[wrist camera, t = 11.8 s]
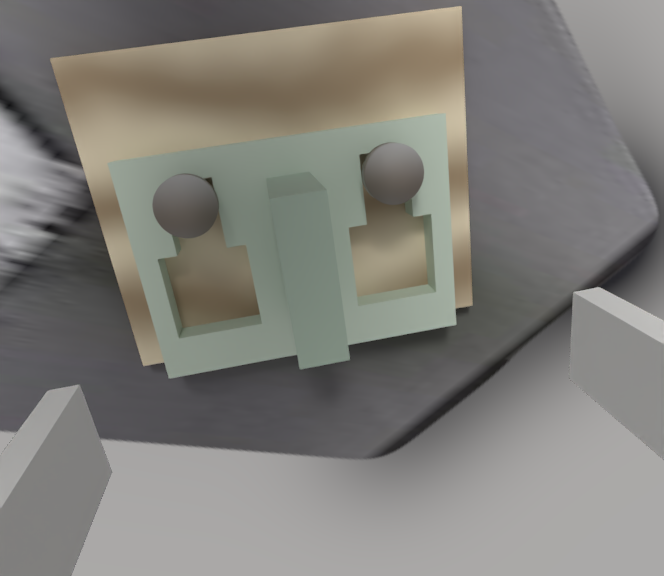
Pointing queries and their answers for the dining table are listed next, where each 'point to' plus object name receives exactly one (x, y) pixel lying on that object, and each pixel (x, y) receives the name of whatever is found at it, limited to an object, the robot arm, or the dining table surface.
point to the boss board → (267, 122)
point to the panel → (261, 243)
